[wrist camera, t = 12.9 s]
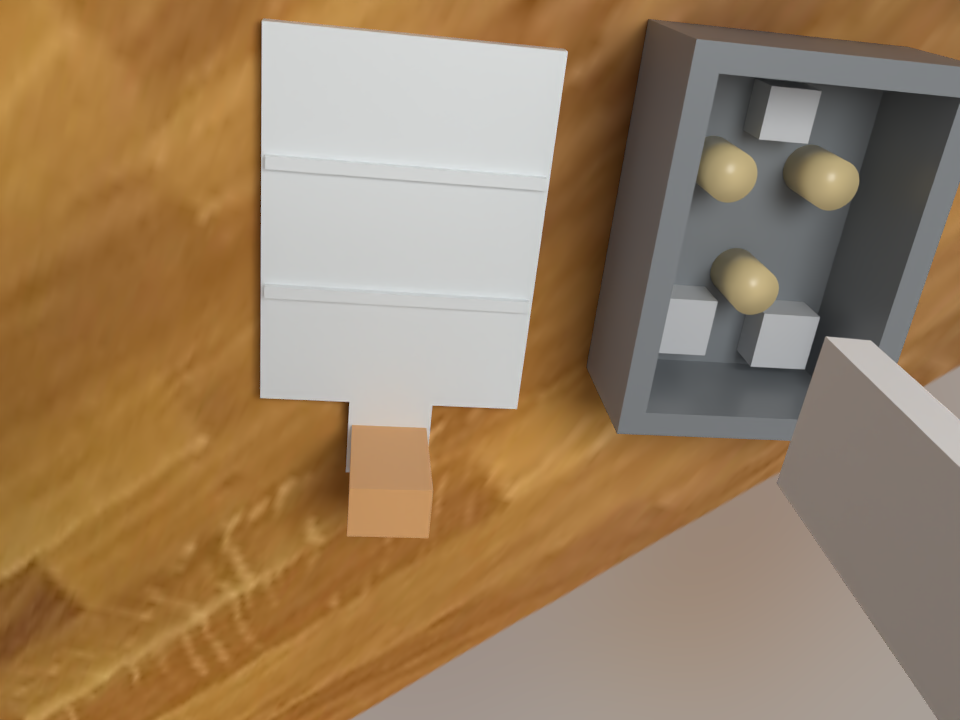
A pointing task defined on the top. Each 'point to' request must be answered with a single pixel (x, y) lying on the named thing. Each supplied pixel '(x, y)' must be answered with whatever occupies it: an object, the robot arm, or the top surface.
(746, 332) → the tub
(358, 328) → the lid
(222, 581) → the top surface
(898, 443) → the robot arm
